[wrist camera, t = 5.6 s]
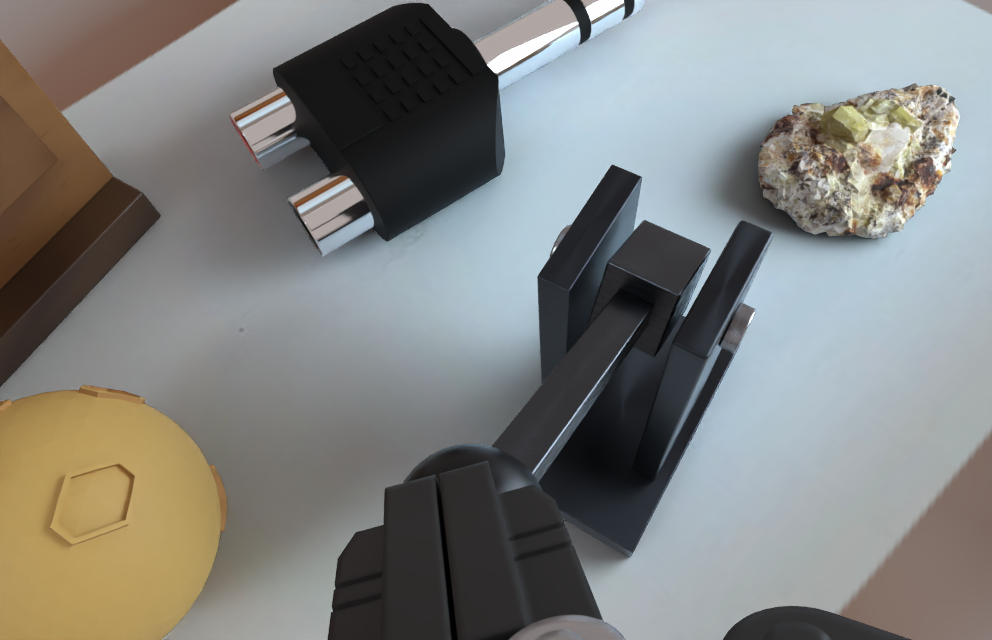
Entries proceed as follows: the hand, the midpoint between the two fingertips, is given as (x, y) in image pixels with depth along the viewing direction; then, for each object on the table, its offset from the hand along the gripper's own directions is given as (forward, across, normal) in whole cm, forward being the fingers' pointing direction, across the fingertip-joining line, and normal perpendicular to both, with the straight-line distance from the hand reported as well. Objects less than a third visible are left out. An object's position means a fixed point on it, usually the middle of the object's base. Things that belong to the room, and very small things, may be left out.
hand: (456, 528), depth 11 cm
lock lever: (+8, +3, -3) cm, 9 cm away
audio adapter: (+33, +6, +4) cm, 33 cm away
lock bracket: (+19, +6, -9) cm, 22 cm away
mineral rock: (+26, +22, -2) cm, 34 cm away
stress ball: (+19, -14, -9) cm, 25 cm away
